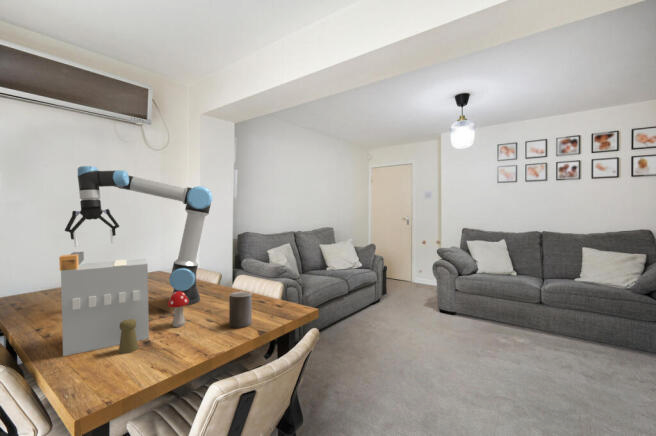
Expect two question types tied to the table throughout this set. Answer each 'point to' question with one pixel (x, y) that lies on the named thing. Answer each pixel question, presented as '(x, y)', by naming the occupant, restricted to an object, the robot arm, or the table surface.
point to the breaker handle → (71, 261)
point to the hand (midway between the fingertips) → (94, 244)
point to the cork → (128, 336)
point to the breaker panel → (103, 303)
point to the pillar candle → (240, 309)
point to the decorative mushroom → (178, 307)
